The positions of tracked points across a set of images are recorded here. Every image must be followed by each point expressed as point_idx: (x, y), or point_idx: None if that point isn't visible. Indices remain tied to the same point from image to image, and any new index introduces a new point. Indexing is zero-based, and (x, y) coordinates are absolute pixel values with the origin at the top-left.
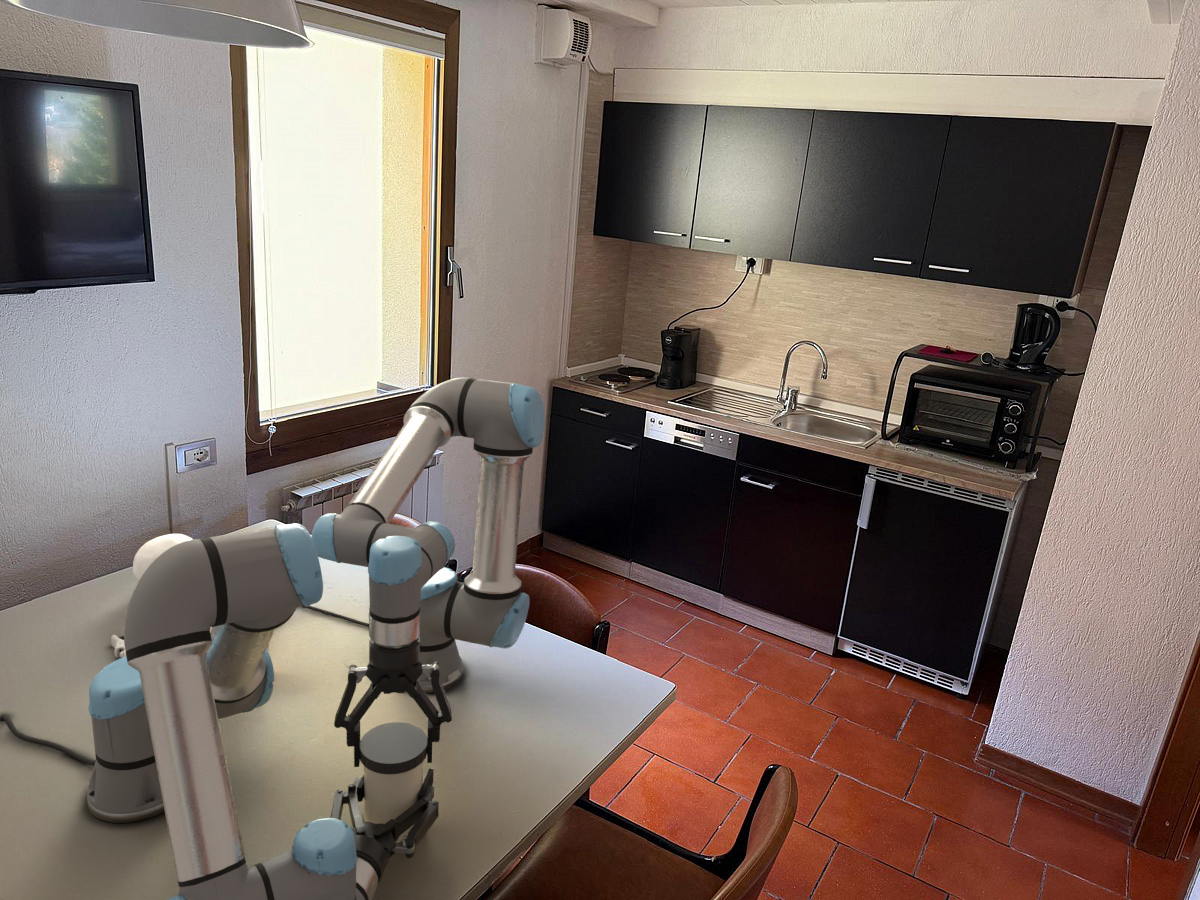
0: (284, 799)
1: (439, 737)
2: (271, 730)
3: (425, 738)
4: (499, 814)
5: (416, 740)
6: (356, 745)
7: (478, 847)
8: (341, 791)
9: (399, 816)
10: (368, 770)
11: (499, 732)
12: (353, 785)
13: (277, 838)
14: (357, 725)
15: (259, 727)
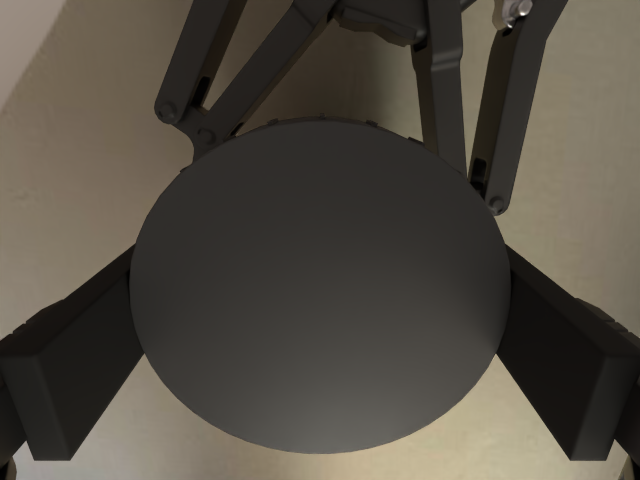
0: (560, 286)
1: (35, 316)
2: (566, 469)
3: (146, 334)
4: (64, 194)
5: (195, 323)
6: (548, 288)
7: (99, 80)
8: (490, 204)
9: (291, 49)
10: None
11: (107, 437)
12: None
13: (587, 166)
14: (599, 420)
15: (588, 477)
